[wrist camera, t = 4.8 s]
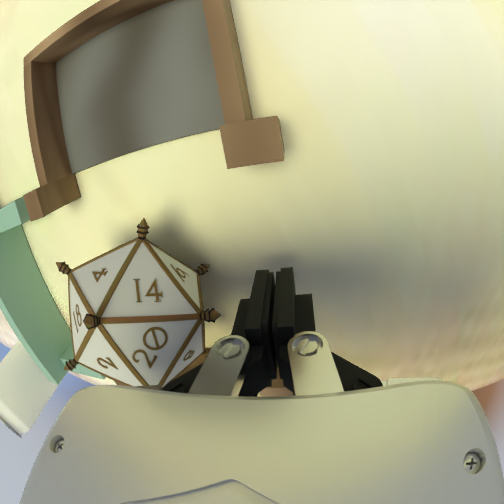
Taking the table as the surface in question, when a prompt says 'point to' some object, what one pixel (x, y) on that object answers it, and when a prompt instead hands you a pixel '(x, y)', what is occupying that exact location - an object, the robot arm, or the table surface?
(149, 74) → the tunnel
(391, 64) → the table surface
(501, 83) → the table surface
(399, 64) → the table surface
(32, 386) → the can
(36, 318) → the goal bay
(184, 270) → the game die
